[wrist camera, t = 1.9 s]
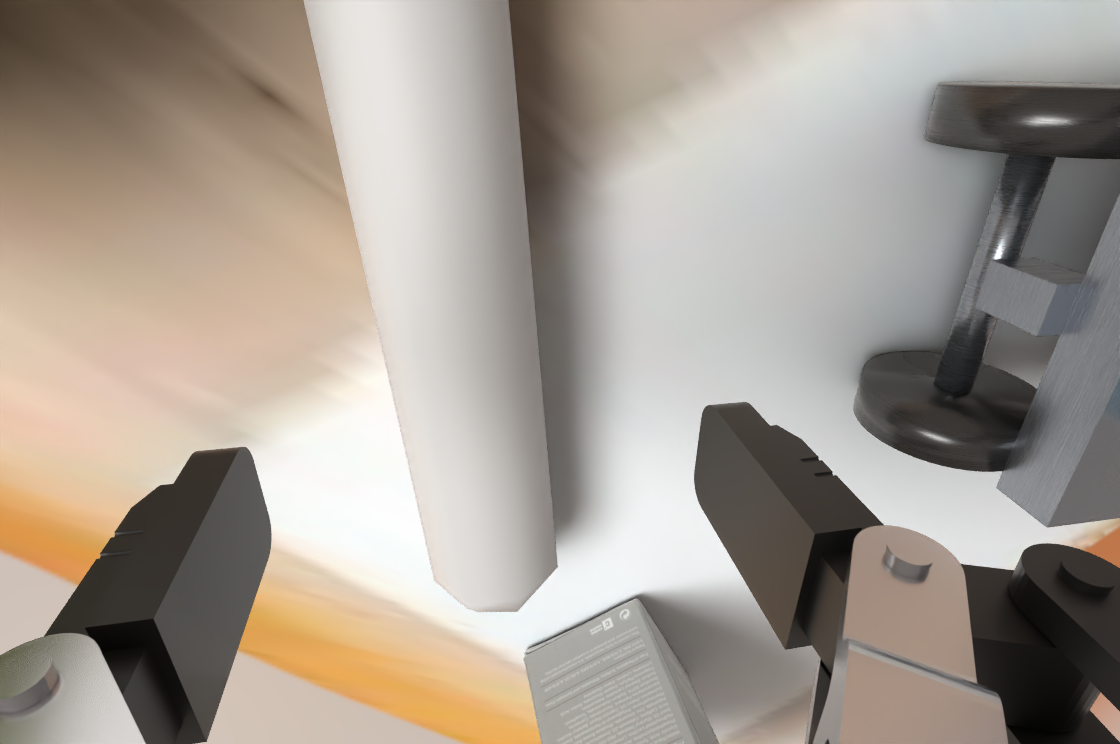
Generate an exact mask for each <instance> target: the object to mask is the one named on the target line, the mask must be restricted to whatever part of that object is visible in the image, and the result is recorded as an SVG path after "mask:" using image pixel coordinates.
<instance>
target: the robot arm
mask: <svg viewBox="0 0 1120 744" xmlns="http://www.w3.org/2000/svg"><path fill="white" fill-rule="evenodd" d="M694 483H695V490H696V495H697V498H698V501H699V504H700V506H701V508H702V509H703V511H704V513H705V514H706V516H707V518H708V520H709V521H710V523H711V525H712V526H713V528H714V530H715V531H716V533H717V535H718V536H719V538H720V540H721V542H722V543H723V545H724V547H725V548H726V550H727V552H728V553H729V555H730V557H731V558H732V560H733V562H734V564H735V565H736V567H737V569H738V570H739V572H740V574H741V575H742V577H743V579H744V580H745V582H746V584H747V586H748V587H749V589H750V591H751V592H752V594H753V596H754V597H755V599H756V601H757V602H758V604H759V606H760V608H761V609H762V611H763V613H764V614H765V616H766V618H767V619H768V621H769V623H770V624H771V626H772V628H773V630H774V631H775V633H776V635H777V636H778V638H779V640H780V641H781V643H782V645H783V647H784V648H785V650H786V649H792V648H798V647H804V646H810V645H813V647H814V649H815V650H816V652H817V653H818V655H819V656H820V658H819V661H818V665H817V668H816V672H815V679H814V685H813V692H812V698H811V705H810V712H809V718H808V725H807V731H806V738H805V744H1120V742H1119V741H1118V740H1117V739H1116V738H1115V737H1114V736H1113V735H1112V734H1111V732H1109V730H1108V729H1107V728H1106V727H1105V726H1104V725H1103V724H1102V723H1101V722H1100V721H1099V720H1098V719H1097V718H1096V717H1095V715H1094V714H1093V713H1092V712H1091V711H1090V708H1091V707H1092V705H1093V703H1094V702H1095V700H1096V699H1097V697H1098V695H1099V694H1100V692H1101V693H1102V694H1103V695H1104V696H1105V697H1106V698H1107V699H1108V700H1109V701H1110V702H1111V703H1112V704H1113V705H1114V706H1115V707H1116V708H1117V709H1118V710H1119V711H1120V568H1118V567H1117V566H1115V565H1113V564H1112V563H1110V562H1108V561H1106V560H1104V559H1102V558H1100V557H1097V556H1096V555H1093V554H1091V553H1088V552H1086V551H1083V550H1080V549H1077V548H1073V547H1069V546H1064V545H1059V544H1036V545H1033V546H1030V547H1028V548H1027V549H1025V550H1024V552H1023V553H1022V555H1021V557H1020V559H1019V562H1018V564H1017V566H1016V568H1015V570H1006V569H997V568H989V567H980V566H972V565H963V564H960V563H959V561H958V560H957V559H956V557H955V556H954V555H953V554H952V553H951V552H950V551H948V550H947V549H946V548H945V547H943V546H942V545H941V544H939V543H938V542H936V541H934V540H933V539H931V538H929V537H927V536H925V535H923V534H920V533H918V532H915V531H912V530H909V529H906V528H901V527H896V526H884V525H883V524H882V523H881V522H880V521H879V520H878V518H877V517H876V516H875V515H874V514H873V513H872V512H871V511H870V510H869V509H868V508H867V507H866V506H865V505H864V504H863V503H862V502H861V501H860V500H859V499H858V498H857V497H856V496H855V495H854V493H853V492H852V491H851V490H850V489H849V488H848V487H847V486H846V485H845V484H844V483H843V482H842V481H841V480H840V479H839V478H838V477H837V476H836V475H834V476H833V474H832V471H831V469H830V468H829V467H828V466H827V465H826V464H825V463H824V462H823V461H822V460H821V461H819V459H818V456H817V455H816V454H815V453H814V452H813V451H812V450H811V449H810V448H809V447H808V446H807V444H806V443H805V442H804V441H803V440H802V439H800V438H798V437H797V436H795V435H793V434H791V433H790V432H788V431H786V430H784V429H783V428H781V427H779V426H777V425H774V426H770V425H769V424H768V423H767V422H766V421H765V420H764V419H763V418H762V417H761V416H760V414H759V413H758V412H757V411H756V410H755V409H754V408H753V407H752V406H751V405H750V404H749V403H747V402H739V403H728V404H718V405H708V406H706V407H705V409H704V411H703V413H702V418H701V425H700V433H699V441H698V449H697V456H696V464H695V473H694ZM270 549H271V524H270V519H269V515H268V511H267V507H266V504H265V500H264V497H263V493H262V489H261V486H260V482H259V479H258V475H257V471H256V468H255V464H254V460H253V457H252V455H251V453H250V451H249V450H248V449H247V448H246V447H238V448H227V449H216V450H205V451H196V452H194V453H193V454H192V455H191V457H190V458H189V460H188V461H187V463H186V465H185V466H184V468H183V469H182V471H181V473H180V474H179V476H178V477H177V479H176V481H175V482H174V484H168V485H160V486H158V487H157V488H156V489H155V490H153V491H152V492H151V493H150V494H148V495H147V496H146V497H145V498H143V499H142V500H141V501H139V502H138V503H137V504H136V505H134V506H133V507H132V508H131V509H130V511H129V512H128V514H127V515H126V516H125V518H124V519H123V521H122V522H121V524H120V525H119V527H118V528H117V530H116V531H115V537H113V538H111V539H110V540H109V541H108V543H107V544H106V546H105V547H104V549H103V550H102V552H101V553H100V554H101V557H100V559H96V561H95V562H94V564H93V565H92V566H91V568H90V569H89V571H88V572H87V574H86V575H85V577H84V578H83V580H82V581H81V583H80V584H79V586H78V587H77V588H76V590H75V591H74V593H73V594H72V596H71V597H70V599H69V600H68V602H67V603H66V605H65V606H64V608H63V609H62V611H61V612H60V614H59V615H58V616H57V618H56V619H55V621H54V622H53V624H52V625H51V627H50V628H49V630H48V631H47V633H46V634H45V636H44V637H41V638H38V639H35V640H32V641H29V642H26V643H24V644H22V645H20V646H17V647H15V648H13V649H11V650H9V651H8V652H6V653H4V654H2V655H0V744H195V743H201V742H207V739H208V736H209V732H210V730H211V727H212V724H213V721H214V718H215V715H216V712H217V709H218V706H219V703H220V700H221V697H222V694H223V691H224V688H225V685H226V682H227V679H228V676H229V673H230V670H231V667H232V665H233V662H234V659H235V656H236V653H237V650H238V647H239V644H240V641H241V638H242V635H243V632H244V629H245V626H246V623H247V620H248V617H249V614H250V611H251V608H252V605H253V602H254V599H255V596H256V593H257V591H258V588H259V585H260V582H261V579H262V576H263V573H264V570H265V567H266V564H267V561H268V558H269V554H270Z"/></svg>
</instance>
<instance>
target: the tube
mask: <svg viewBox="0 0 1120 744" xmlns="http://www.w3.org/2000/svg"><path fill="white" fill-rule="evenodd" d="M303 1H304V6H305V10H306V15H307V19H308V23H309V28H310V32H311V37H312V41H313V46H314V50H315V54H316V59H317V63H318V68H319V72H320V77H321V81H322V85H323V90H324V94H325V99H326V103H327V108H328V112H329V116H330V121H331V125H332V130H333V134H334V138H335V143H336V147H337V152H338V156H339V161H340V165H341V169H342V174H343V178H344V183H345V187H346V192H347V196H348V200H349V205H350V209H351V214H352V218H353V223H354V227H355V231H356V236H357V240H358V245H359V249H360V254H361V258H362V262H363V267H364V271H365V276H366V280H367V285H368V289H369V293H370V298H371V302H372V307H373V311H374V315H375V320H376V324H377V329H378V333H379V338H380V342H381V346H382V351H383V355H384V360H385V364H386V369H387V373H388V377H389V382H390V386H391V391H392V395H393V400H394V404H395V408H396V413H397V417H398V422H399V426H400V431H401V435H402V439H403V444H404V448H405V453H406V457H407V461H408V466H409V470H410V475H411V479H412V484H413V488H414V492H415V497H416V501H417V506H418V510H419V515H420V519H421V523H422V528H423V532H424V537H425V541H426V546H427V550H428V554H429V559H430V563H431V568H432V572H433V577H434V581H435V582H436V583H438V584H439V585H440V586H441V587H442V588H443V589H445V590H446V591H447V592H448V593H449V594H450V595H451V596H453V597H454V598H455V599H456V600H457V601H459V602H460V603H461V604H462V605H464V606H465V607H466V608H468V609H471V610H474V611H477V612H517V611H518V610H519V609H520V608H521V607H522V606H523V605H524V603H525V602H526V601H527V600H528V599H529V598H530V597H531V596H532V595H533V594H534V592H535V591H536V590H537V589H538V588H539V587H540V586H541V585H542V584H543V583H544V581H545V580H546V579H547V578H548V577H549V576H550V575H551V574H552V573H553V572H554V570H555V569H556V568H557V567H558V565H557V554H556V542H555V531H554V519H553V508H552V496H551V485H550V473H549V462H548V450H547V439H546V427H545V416H544V404H543V393H542V381H541V370H540V358H539V347H538V335H537V324H536V312H535V301H534V289H533V278H532V266H531V254H530V243H529V231H528V220H527V208H526V197H525V185H524V174H523V162H522V151H521V139H520V128H519V116H518V105H517V93H516V82H515V70H514V59H513V47H512V36H511V24H510V13H509V1H508V0H303Z"/></svg>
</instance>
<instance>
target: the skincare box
mask: <svg viewBox="0 0 1120 744" xmlns="http://www.w3.org/2000/svg"><path fill="white" fill-rule="evenodd" d="M524 654H525V657H524V662H525V666H526V671H527V675H528V680H529V685H530V689H531V694H532V699H533V704H534V709H535V714H536V719H537V724H538V728H539V733H540V738H541V743H542V744H719V742H718V740H717V738H716V736H715V734H714V732H713V730H712V727H711V725H710V723H709V721H708V719H707V717H706V715H705V713H704V711H703V708H702V706H701V704H700V702H699V699H698V697H697V695H696V692H695V690H694V688H693V686H692V683H691V681H690V678H689V677H688V675H687V673H686V672H685V670H684V668H683V667H682V665H681V664H680V662H679V660H678V659H677V657H676V656H675V654H674V653H673V651H672V649H671V648H670V646H669V645H668V643H667V641H666V640H665V638H664V637H663V635H662V634H661V632H660V630H659V629H658V627H657V626H656V624H655V623H654V621H653V619H652V618H651V616H650V615H649V613H648V612H647V610H646V609H645V607H644V606H643V604H642V603H641V601H640V600H639V599H633V600H631V601H629V602H626V603H624V604H622V605H620V606H618V607H616V608H614V609H612V610H610V611H608V612H606V613H604V614H602V615H600V616H598V617H596V618H594V619H592V620H591V621H589V622H587V623H585V624H583V625H581V626H579V627H576V628H574V629H572V630H570V631H568V632H565V633H563V634H561V635H559V636H557V637H555V638H552V639H550V640H548V641H546V642H544V643H541V644H539V645H536V646H534V647H531V648H529V649H527V650H526V651H525V653H524Z"/></svg>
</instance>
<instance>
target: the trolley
mask: <svg viewBox="0 0 1120 744" xmlns="http://www.w3.org/2000/svg"><path fill="white" fill-rule="evenodd" d="M924 139H925V140H927V141H929V142H932V143H936V144H941V145H946V146H952V147H958V148H964V149H972V150H980V151H989V152H998V153H1008V156H1007V159H1006V162H1005V165H1004V168H1003V171H1002V174H1001V177H1000V180H999V184H998V187H997V190H996V193H995V196H994V199H993V202H992V205H991V208H990V211H989V214H988V217H987V220H986V223H985V226H984V229H983V232H982V236H981V239H980V242H979V245H978V248H977V251H976V254H975V257H974V260H973V263H972V266H971V269H970V272H969V275H968V278H967V281H966V284H965V288H964V291H963V294H962V297H961V300H960V303H959V306H958V309H957V312H956V315H955V318H954V321H953V324H952V327H951V330H950V333H949V336H948V340H947V343H946V346H945V349H944V352H943V354H940V353H931V352H919V351H902V352H891V353H886V354H882V355H878V356H876V357H874V358H871V359H870V360H869V361H867V362H866V364H865V365H864V367H863V371H862V374H861V378H860V382H859V386H858V390H857V393H856V397H855V401H854V407H853V410H854V414H855V416H856V418H857V420H858V421H859V422H860V424H861V425H862V426H863V427H864V428H865V429H866V430H867V431H868V432H870V433H871V434H872V435H873V436H875V437H876V438H878V439H879V440H881V441H882V442H884V443H886V444H887V445H889V446H891V447H893V448H895V449H897V450H899V451H901V452H903V453H906V454H908V455H911V456H913V457H916V458H918V459H921V460H924V461H927V462H931V463H934V464H938V465H942V466H946V467H951V468H956V469H962V470H970V471H982V472H995V471H1003V472H1002V475H1001V477H1000V479H999V482H998V484H997V487H996V488H997V489H998V490H1000V491H1001V492H1002V493H1004V494H1005V495H1006V496H1007V497H1009V498H1010V499H1011V500H1013V501H1014V502H1015V503H1016V504H1018V505H1019V506H1020V507H1021V508H1023V509H1024V510H1025V511H1027V512H1028V513H1029V514H1030V515H1032V516H1033V517H1034V518H1035V519H1037V520H1038V521H1039V522H1041V523H1042V524H1043V525H1044V526H1046V527H1055V526H1062V525H1070V524H1077V523H1085V522H1093V521H1100V520H1108V519H1115V518H1120V194H1119V196H1118V198H1117V201H1116V203H1115V206H1114V208H1113V210H1112V213H1111V215H1110V217H1109V220H1108V222H1107V225H1106V227H1105V229H1104V232H1103V234H1102V236H1101V239H1100V241H1099V244H1098V246H1097V248H1096V251H1095V253H1094V256H1093V258H1092V260H1091V263H1090V265H1089V267H1088V270H1087V272H1086V275H1083V274H1080V273H1078V272H1075V271H1072V270H1069V269H1066V268H1063V267H1060V266H1057V265H1054V264H1051V263H1049V262H1046V261H1043V260H1040V259H1037V258H1020V255H1021V252H1022V249H1023V247H1024V244H1025V241H1026V238H1027V236H1028V233H1029V230H1030V227H1031V225H1032V222H1033V219H1034V216H1035V214H1036V211H1037V208H1038V205H1039V203H1040V200H1041V197H1042V194H1043V191H1044V189H1045V186H1046V183H1047V180H1048V178H1049V175H1050V172H1051V169H1052V167H1053V164H1054V161H1055V158H1056V157H1065V158H1090V159H1120V84H1103V83H1066V82H1002V81H971V82H941V83H938V85H937V89H936V93H935V96H934V100H933V104H932V108H931V112H930V116H929V119H928V123H927V127H926V131H925V135H924ZM1019 258H1020V259H1019ZM997 318H999V319H1001V320H1003V321H1005V322H1007V323H1009V324H1011V325H1013V326H1016V327H1018V328H1020V329H1022V330H1024V331H1026V332H1028V333H1030V334H1032V335H1034V336H1037V337H1039V336H1052V335H1060V337H1059V339H1058V341H1057V344H1056V346H1055V348H1054V351H1053V353H1052V356H1051V358H1050V360H1049V363H1048V365H1047V368H1046V370H1045V372H1044V375H1043V377H1042V379H1041V382H1040V384H1039V387H1038V389H1036V388H1035V387H1033V386H1032V385H1030V384H1029V383H1027V382H1025V381H1024V380H1022V379H1020V378H1018V377H1016V376H1014V375H1012V374H1010V373H1008V372H1005V371H1003V370H1000V369H998V368H995V367H992V366H989V365H986V364H984V363H982V360H983V357H984V354H985V351H986V349H987V346H988V343H989V340H990V338H991V335H992V332H993V329H994V327H995V324H996V321H997Z"/></svg>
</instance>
